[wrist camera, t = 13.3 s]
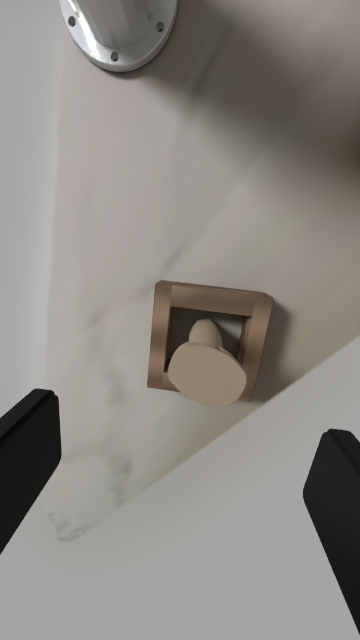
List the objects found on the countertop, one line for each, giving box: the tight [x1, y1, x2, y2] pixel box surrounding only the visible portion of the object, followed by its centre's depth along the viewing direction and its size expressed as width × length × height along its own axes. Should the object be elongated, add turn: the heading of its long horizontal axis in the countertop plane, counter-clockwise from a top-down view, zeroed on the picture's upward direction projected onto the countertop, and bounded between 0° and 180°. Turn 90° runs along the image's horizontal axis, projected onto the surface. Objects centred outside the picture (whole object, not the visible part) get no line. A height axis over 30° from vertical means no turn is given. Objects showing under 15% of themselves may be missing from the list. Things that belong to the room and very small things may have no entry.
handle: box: [168, 318, 246, 406], centre depth 27 cm, size 5×6×15 cm
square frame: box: [147, 280, 274, 402], centre depth 32 cm, size 14×14×4 cm
